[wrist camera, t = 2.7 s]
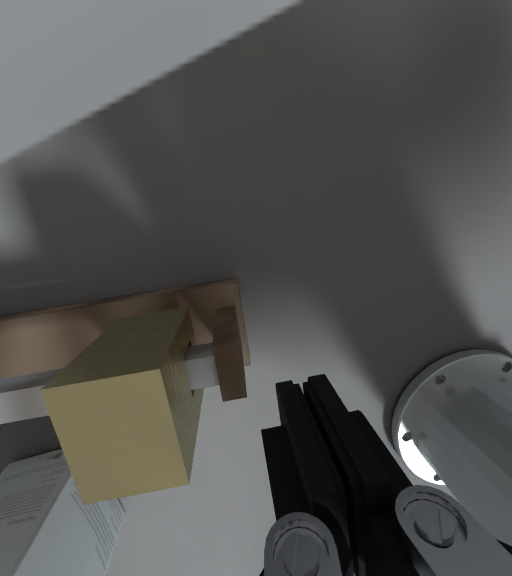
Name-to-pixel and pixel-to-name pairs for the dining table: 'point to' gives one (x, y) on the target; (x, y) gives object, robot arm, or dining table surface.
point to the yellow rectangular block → (128, 408)
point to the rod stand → (100, 316)
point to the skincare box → (53, 522)
